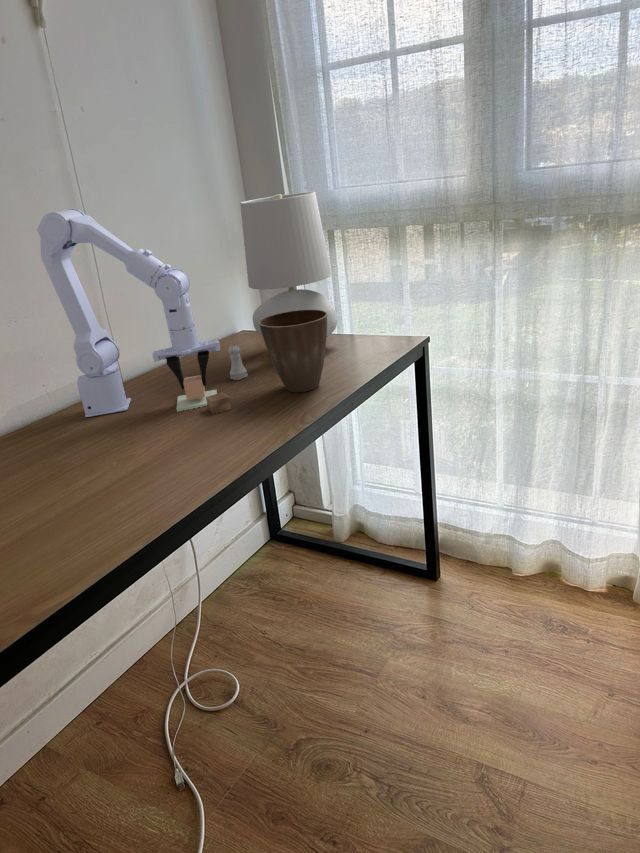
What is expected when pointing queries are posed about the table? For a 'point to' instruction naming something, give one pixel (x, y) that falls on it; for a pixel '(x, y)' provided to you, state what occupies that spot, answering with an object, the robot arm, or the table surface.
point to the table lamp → (286, 254)
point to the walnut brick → (218, 402)
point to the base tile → (193, 401)
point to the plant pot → (297, 346)
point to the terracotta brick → (194, 387)
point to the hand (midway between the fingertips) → (194, 386)
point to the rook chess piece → (236, 363)
